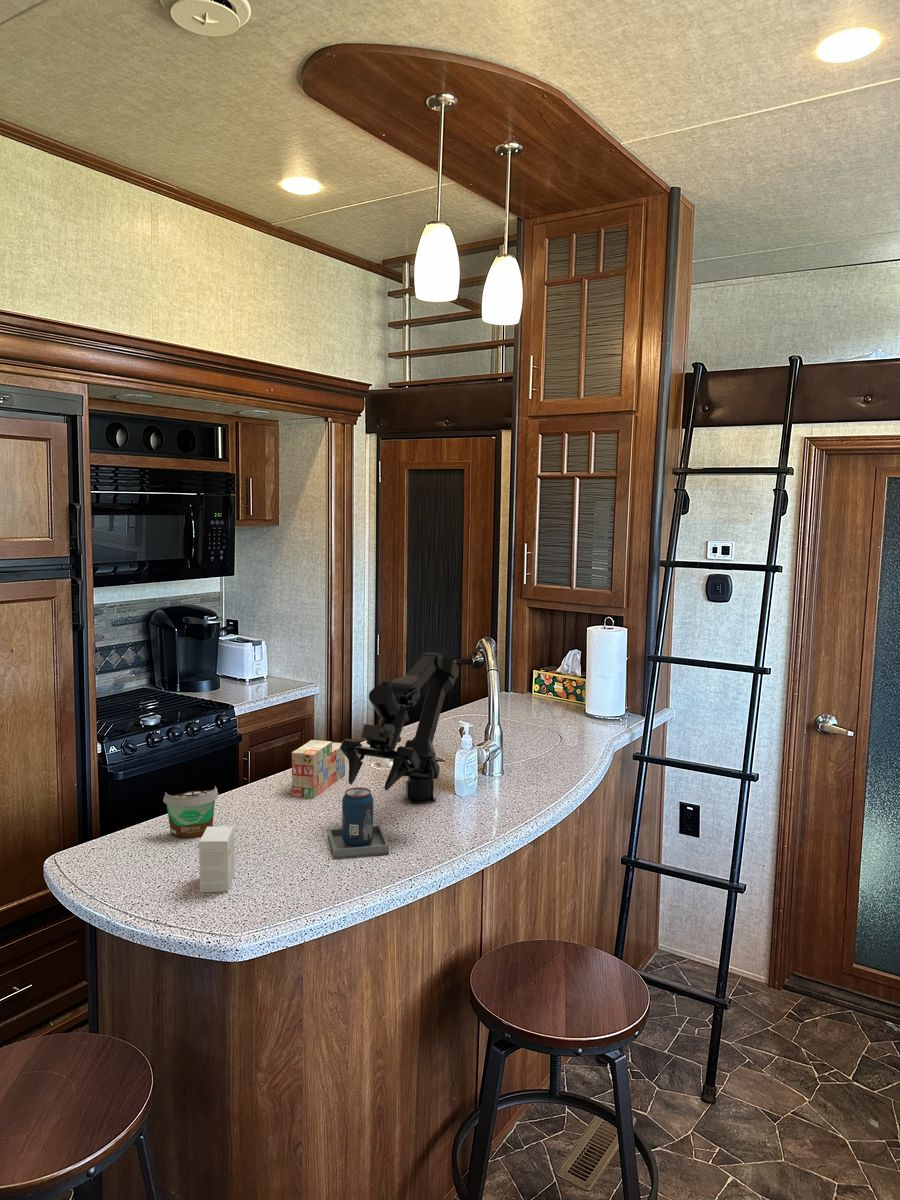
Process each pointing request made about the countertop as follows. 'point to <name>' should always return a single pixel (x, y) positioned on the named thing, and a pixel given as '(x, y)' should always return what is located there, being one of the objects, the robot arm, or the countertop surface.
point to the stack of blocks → (316, 768)
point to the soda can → (357, 817)
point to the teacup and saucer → (383, 763)
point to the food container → (190, 812)
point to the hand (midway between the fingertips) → (367, 786)
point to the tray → (342, 851)
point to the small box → (216, 859)
